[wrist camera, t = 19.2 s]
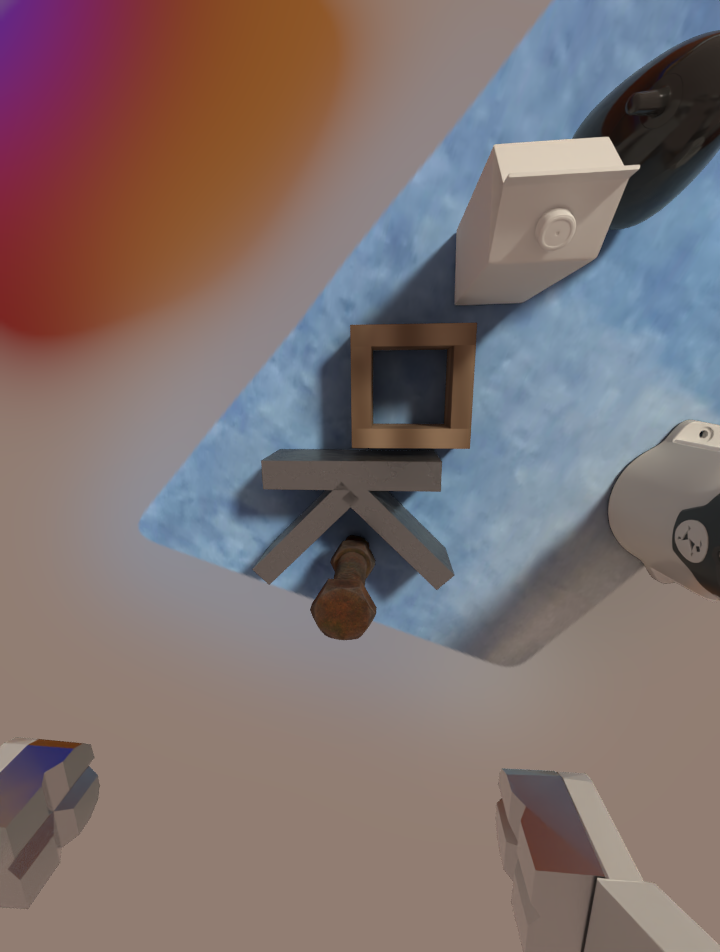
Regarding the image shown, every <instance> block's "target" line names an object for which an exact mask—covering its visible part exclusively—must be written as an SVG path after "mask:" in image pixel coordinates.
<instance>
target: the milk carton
mask: <svg viewBox="0 0 720 952" xmlns="http://www.w3.org/2000/svg"><path fill="white" fill-rule="evenodd" d="M639 169H640V165H628V166H624V164H623V162H622V160H621V159H620V157H619V155H618V153H617V151H616V149H615V147H614V145H613V144H612V142H611V140H610V138H609V137H594V138H580V139H566V140H551V141H537V142H523V143H509V144H497V145H494V147H493V149H492V151H491V154H490V156H489V158H488V160H487V163H486V165H485V167H484V169H483V172H482V174H481V176H480V179H479V181H478V183H477V185H476V188H475V190H474V192H473V195H472V197H471V199H470V201H469V204H468V206H467V208H466V210H465V213H464V215H463V217H462V220H461V222H460V224H459V226H458V229H457V233H456V268H455V305H482V304H507V303H522V302H525V301H526V300H528V299H530V298H531V297H533V296H535V295H536V294H538V293H540V292H541V291H543V290H545V289H546V288H548V287H550V286H551V285H553V284H555V283H556V282H558V281H560V280H561V279H563V278H565V277H566V276H568V275H570V274H571V273H573V272H574V271H576V270H578V269H579V268H581V267H583V266H584V265H586V264H588V263H589V262H591V261H592V260H594V259H595V258H596V257H597V256H598V254H599V251H600V249H601V246H602V244H603V241H604V239H605V236H606V234H607V231H608V229H609V226H610V224H611V221H612V219H613V217H614V214H615V212H616V209H617V207H618V204H619V202H620V199H621V197H622V194H623V192H624V189H625V187H626V184H627V182H628V179H629V177H631V176H632V175H633V174H634V173H635V172H637V171H638V170H639Z"/></svg>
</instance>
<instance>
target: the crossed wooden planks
mask: <svg viewBox="0 0 720 952" xmlns="http://www.w3.org/2000/svg"><path fill="white" fill-rule="evenodd" d="M261 464H262V480H263V489H282V490H325V491H324V492H323V493H322V494H321V495H320V496H319V497H318V498H317V499H316V500H315V501H314V502H313V503H312V504H311V505H310V506H309V507H308V508H307V509H306V510H305V511H304V512H303V513H302V514H301V515H300V516H299V517H298V518H297V519H296V520H295V521H294V522H293V523H292V524H291V525H290V526H289V527H288V528H287V529H286V530H285V531H284V532H283V533H282V534H281V535H280V536H279V537H278V538H277V539H276V540H275V541H274V542H273V543H271V545H270V546H269V547H268V549H267V550H266V552H265V553H264V554H263V556H262V557H261V558H260V560H259V561H258V562H257V564H256V565H255V566H254V568H253V569H252V570H253V571H255V572H256V573H257V574H258V575H259V576H260V577H261V578H262V579H263V580H264V581H266V582H267V583H268V584H269V585H270V584H271V583H272V582H273V581H274V580H275V579H276V578H277V577H278V576H279V575H280V574H281V573H282V572H283V571H284V570H285V569H286V568H287V567H288V566H290V565H291V564H292V563H293V562H294V561H295V560H296V559H297V558H298V557H299V556H300V555H301V554H302V553H303V552H304V551H305V550H306V549H307V548H308V547H309V546H310V545H312V544H313V543H314V542H315V541H316V540H317V539H318V538H319V537H320V536H321V535H322V534H323V533H324V532H325V531H326V530H327V529H328V528H329V527H330V526H331V525H332V524H334V523H335V522H336V521H337V520H338V519H339V518H340V517H341V516H342V515H343V514H344V513H345V512H346V511H347V510H348V509H349V508H350V507H351V508H352V509H353V510H354V511H355V512H356V513H357V514H358V515H359V516H360V517H361V518H362V519H364V520H365V521H366V522H367V523H368V524H369V525H370V526H371V527H372V528H373V529H374V530H375V531H376V532H377V533H378V534H379V535H380V536H381V537H382V538H383V539H384V540H385V541H386V542H387V543H388V544H389V545H391V546H392V547H393V548H394V549H395V550H396V551H397V552H398V553H399V554H400V555H401V556H402V557H403V558H404V559H405V560H406V561H407V562H408V563H409V564H410V565H411V566H412V567H413V568H414V569H415V570H416V571H417V572H419V573H420V574H421V575H422V576H423V577H424V578H425V579H426V580H427V581H428V582H429V583H430V584H431V585H432V586H433V587H434V588H435V589H436V590H437V589H439V588H440V587H441V586H442V585H443V584H445V583H446V582H447V581H448V580H449V579H451V578H452V577H453V576H454V572H453V569H452V566H451V563H450V560H449V557H448V554H447V551H446V548H445V547H444V546H443V545H442V544H441V543H440V542H439V541H438V540H437V539H436V538H435V537H434V536H433V535H432V534H431V533H430V532H429V531H428V530H427V529H426V528H425V527H424V526H423V525H422V524H421V523H420V522H419V521H418V520H417V519H416V518H415V517H413V516H412V515H411V514H410V513H409V512H408V511H407V510H406V509H405V508H404V507H403V506H402V505H401V504H400V503H399V502H398V501H397V500H396V499H395V498H394V497H393V496H392V495H391V494H390V493H389V492H388V491H436V492H441V472H442V461H441V460H440V458H439V457H438V455H437V454H436V452H435V451H434V450H342V449H279V450H278V451H276V452H275V453H273V454H271V455H270V456H268V457H266V458H265V459H263V460H261Z"/></svg>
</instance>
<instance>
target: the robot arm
mask: <svg viewBox="0 0 720 952" xmlns="http://www.w3.org/2000/svg"><path fill="white" fill-rule="evenodd" d="M701 431H703V434H702V436H701V437H700V436H699V434H700V432H701ZM608 517H609V523H610V527H611V530H612V532H613V534H614V536H615V538H616V539H617V541H618V542H619V543H620V544H621V546H622V547H623V548H625V549H626V550H627V551H628V552H629V553H631V554H632V555H634V556H635V557H637V558H638V559H640V560H641V561H642V562H643V564H644V565H645V567H646V569H647V571H648V572H649V574H650V575H651V576H652V578H654V579H655V580H657V581H659V582H661V583H665V584H667V583H675V582H676V583H678V584H679V585H681V586H683V587H685V588H686V589H688V590H690V591H692V592H694V593H695V594H697V595H699V596H701V597H702V598H704V599H706V600H709V601H713V602H716V601H717V600H720V425H716V424H711V423H706V422H701V421H695V420H686V421H683V422H682V423H680V424H679V425H678V426H677V427H676V428H675V429H674V430H673V431H672V432H671V433H670V434H669V435H668V437H667V438H666V439H665V440H664V441H663V442H662V443H660V444H659V445H657V446H656V447H654V448H652V449H650V450H649V451H647V452H645V453H643V454H642V455H640V456H639V457H638V458H636V459H635V460H634V461H633V462H632V463H631V464H630V465H629V466H628V467H627V468H626V469H625V470H624V471H623V472H622V474H621V475H620V477H619V478H618V480H617V481H616V483H615V485H614V488H613V490H612V493H611V496H610V500H609V507H608ZM93 759H94V754H93V751H92V747H91V744H85V743H76V742H64V741H55V740H44V739H31V738H19V737H16V738H14V739H12V740H10V741H8V742H5V743H4V744H3V745H2V746H1V747H0V907H2V908H21V909H28V908H29V907H30V905H31V904H32V902H33V901H34V900H35V898H36V897H37V895H38V894H39V892H40V891H41V889H42V888H43V887H44V885H45V884H46V882H47V881H48V879H49V878H50V876H51V875H52V873H53V872H54V871H55V869H56V868H57V866H58V865H59V863H60V858H61V850H62V847H64V846H65V845H66V844H68V843H69V842H70V841H72V840H73V839H74V838H76V837H77V836H78V835H79V834H80V832H81V831H82V830H83V828H84V827H85V825H86V824H87V822H88V821H89V819H90V818H91V815H92V813H93V810H94V808H95V805H96V803H97V800H98V795H99V787H100V784H99V779H98V775H97V774H96V773H95V772H94V771H93V770H92V769H91V768H90V767H89V765H90V763H91V762H92V760H93ZM498 784H499V788H500V792H501V796H502V798H501V799H500V801H498V802H497V805H496V829H497V839H498V845H499V851H500V856H501V860H502V864H503V868H504V870H505V872H506V873H507V874H508V875H509V877H510V878H511V879H512V881H513V890H512V899H511V903H512V907H513V911H514V915H515V920H516V924H517V927H518V932H519V936H520V940H521V945H522V948H523V952H720V945H719V944H717V942H715V941H714V940H713V939H712V938H711V937H710V936H709V935H708V934H707V933H706V932H705V931H704V930H703V929H702V928H701V927H700V926H699V925H698V924H697V923H696V922H695V921H694V920H692V919H691V918H690V917H689V916H688V915H687V914H686V913H685V912H684V911H683V910H682V909H681V908H680V907H679V906H678V905H677V904H676V903H675V902H674V901H673V900H672V899H671V898H669V897H668V896H667V895H666V894H665V893H664V892H663V891H662V890H661V889H660V888H659V887H658V886H657V885H656V884H654V883H652V882H645V881H643V879H642V877H641V875H640V873H639V871H638V869H637V867H636V865H635V863H634V861H633V859H632V857H631V855H630V854H629V852H628V850H627V848H626V846H625V844H624V842H623V840H622V838H621V836H620V834H619V832H618V830H617V828H616V826H615V825H614V823H613V821H612V819H611V817H610V815H609V813H608V811H607V809H606V807H605V805H604V803H603V801H602V799H601V797H600V795H599V794H598V792H597V790H596V788H595V786H594V784H593V782H592V780H591V779H590V778H589V777H588V776H587V775H586V774H585V773H569V772H555V771H542V770H522V769H520V770H519V769H501V771H500V774H499V783H498Z"/></svg>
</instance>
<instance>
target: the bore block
mask: <svg viewBox="0 0 720 952" xmlns="http://www.w3.org/2000/svg"><path fill="white" fill-rule="evenodd" d="M350 333H351V418H352V448H452V449H470V437H471V419H472V402H473V385H474V367H475V350H476V333H477V323H433V324H377V325H350ZM373 350H447V366H446V389H445V413H444V424H373Z"/></svg>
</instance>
